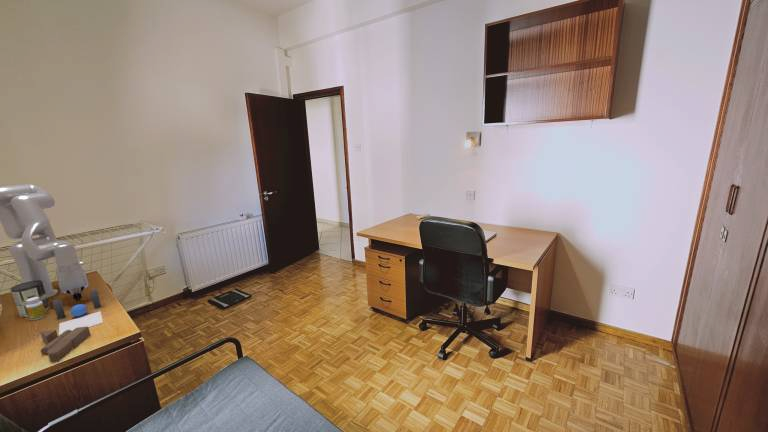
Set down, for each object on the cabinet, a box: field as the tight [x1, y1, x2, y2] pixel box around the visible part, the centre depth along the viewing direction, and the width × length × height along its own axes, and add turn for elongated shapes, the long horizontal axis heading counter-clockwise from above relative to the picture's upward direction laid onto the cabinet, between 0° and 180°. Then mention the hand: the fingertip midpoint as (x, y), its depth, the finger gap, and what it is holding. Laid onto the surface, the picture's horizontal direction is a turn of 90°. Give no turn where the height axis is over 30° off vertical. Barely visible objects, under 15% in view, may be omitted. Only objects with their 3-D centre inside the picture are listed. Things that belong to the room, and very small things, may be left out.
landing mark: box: [58, 310, 104, 336], centre depth 139 cm, size 14×14×1 cm
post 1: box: [51, 298, 66, 320], centre depth 143 cm, size 3×3×9 cm
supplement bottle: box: [26, 297, 47, 321], centre depth 143 cm, size 5×5×10 cm
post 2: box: [89, 289, 102, 309], centre depth 152 cm, size 3×3×9 cm
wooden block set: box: [40, 326, 91, 363], centre depth 121 cm, size 17×6×18 cm
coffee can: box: [9, 280, 51, 317], centre depth 149 cm, size 10×10×14 cm
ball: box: [70, 303, 88, 318], centre depth 145 cm, size 6×6×6 cm
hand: (78, 300), depth 157 cm, fingers closed
